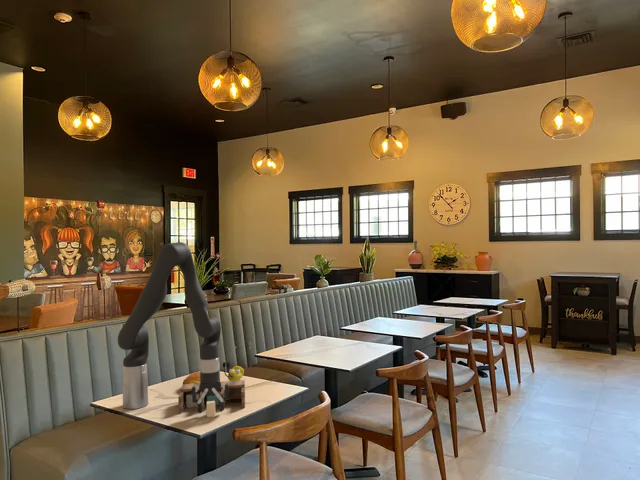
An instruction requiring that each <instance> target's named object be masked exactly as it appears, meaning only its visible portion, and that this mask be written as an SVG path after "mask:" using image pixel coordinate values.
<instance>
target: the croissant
mask: <svg viewBox="0 0 640 480" xmlns="http://www.w3.org/2000/svg"><path fill="white" fill-rule="evenodd" d="M196 383H200V371H196V372H192V373H191V374H190V373H189V375H187V377H185V379H183V381H182V385H183V384H196Z"/></svg>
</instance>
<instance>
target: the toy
mask: <svg viewBox="0 0 640 480" xmlns="http://www.w3.org/2000/svg"><path fill="white" fill-rule="evenodd" d="M230 365H231V364H230V362H229V361H227V363H226V361H223V362H222V367H223V372H224V375H225V377H227V379H228V381H236V380H242V378H243V376H244V373H245V369H244V368H243V367H242V366H239V365H236V366H233V367H232V368H230ZM225 368H227V373H228V374H227V373H226V371H225V370H226V369H225ZM229 368H230V369H229Z"/></svg>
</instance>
